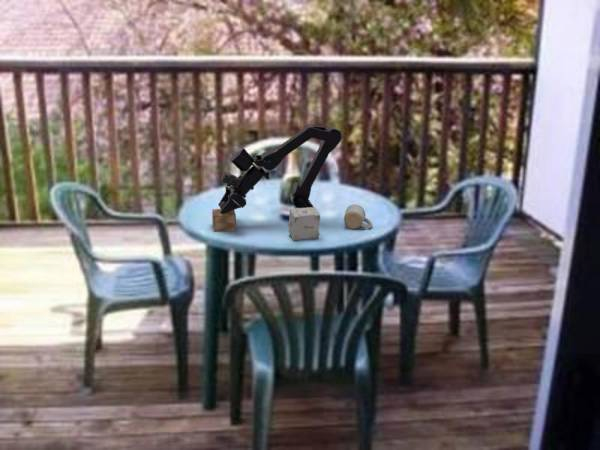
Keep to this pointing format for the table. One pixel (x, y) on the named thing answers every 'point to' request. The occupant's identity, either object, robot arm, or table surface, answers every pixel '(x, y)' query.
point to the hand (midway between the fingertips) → (220, 209)
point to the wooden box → (223, 220)
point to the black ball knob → (222, 204)
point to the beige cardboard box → (304, 223)
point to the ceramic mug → (356, 217)
